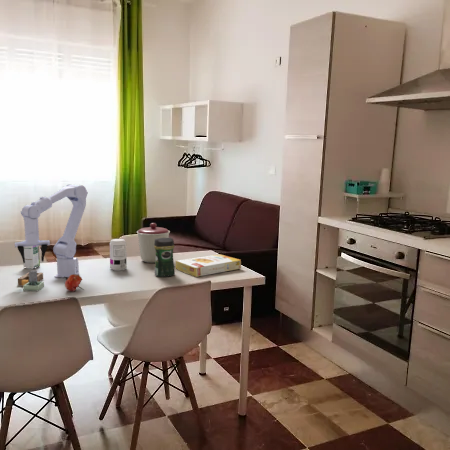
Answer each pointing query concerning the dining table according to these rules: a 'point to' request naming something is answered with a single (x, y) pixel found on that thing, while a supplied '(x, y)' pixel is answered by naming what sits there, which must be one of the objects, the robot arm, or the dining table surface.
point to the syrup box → (31, 256)
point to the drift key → (24, 282)
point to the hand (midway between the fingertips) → (33, 261)
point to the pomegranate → (72, 282)
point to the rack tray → (33, 288)
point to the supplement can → (118, 254)
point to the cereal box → (208, 265)
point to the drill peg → (33, 278)
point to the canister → (150, 241)
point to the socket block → (26, 277)
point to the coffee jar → (164, 257)
